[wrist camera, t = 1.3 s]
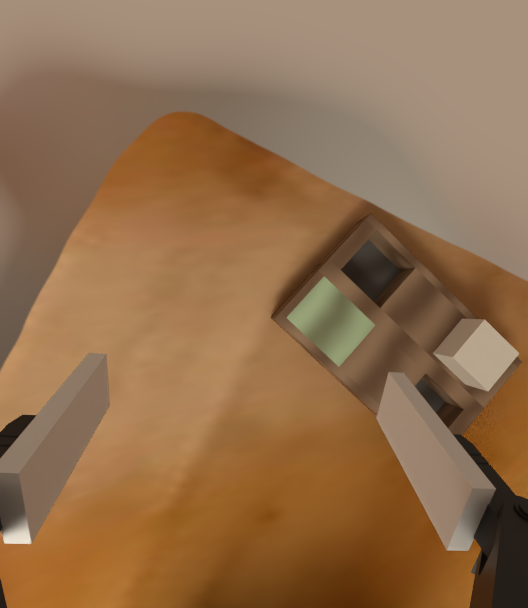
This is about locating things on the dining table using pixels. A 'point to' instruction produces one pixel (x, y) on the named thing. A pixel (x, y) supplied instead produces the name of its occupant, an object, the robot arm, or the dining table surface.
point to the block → (476, 353)
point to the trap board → (383, 324)
